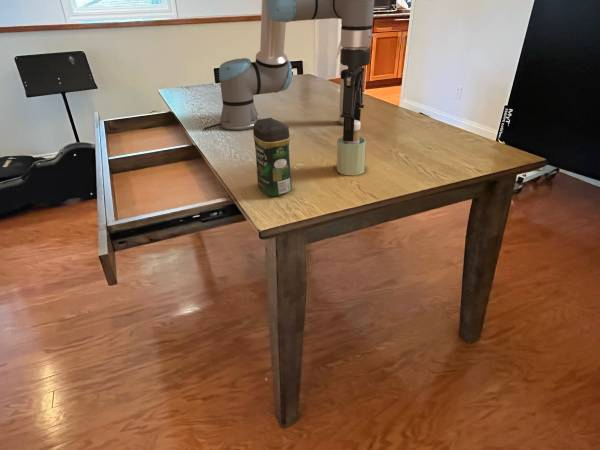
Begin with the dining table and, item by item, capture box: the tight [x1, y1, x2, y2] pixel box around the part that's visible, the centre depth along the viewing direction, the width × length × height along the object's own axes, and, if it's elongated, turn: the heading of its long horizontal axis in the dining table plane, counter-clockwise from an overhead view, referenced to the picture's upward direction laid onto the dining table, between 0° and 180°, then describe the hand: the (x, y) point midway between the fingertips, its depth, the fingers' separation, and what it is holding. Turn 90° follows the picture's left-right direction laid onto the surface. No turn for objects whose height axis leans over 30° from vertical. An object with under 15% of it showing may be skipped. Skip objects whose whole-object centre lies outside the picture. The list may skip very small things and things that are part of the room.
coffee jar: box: [252, 117, 293, 197], centre depth 105 cm, size 10×8×19 cm
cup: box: [336, 135, 367, 176], centre depth 118 cm, size 8×8×9 cm
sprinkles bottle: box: [344, 120, 362, 145], centre depth 116 cm, size 5×5×13 cm
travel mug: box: [338, 68, 348, 126], centre depth 154 cm, size 6×7×20 cm
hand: (351, 135), depth 115 cm, fingers open, 7 cm apart
